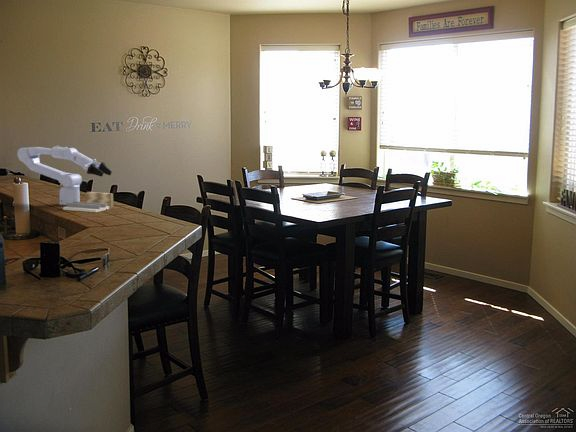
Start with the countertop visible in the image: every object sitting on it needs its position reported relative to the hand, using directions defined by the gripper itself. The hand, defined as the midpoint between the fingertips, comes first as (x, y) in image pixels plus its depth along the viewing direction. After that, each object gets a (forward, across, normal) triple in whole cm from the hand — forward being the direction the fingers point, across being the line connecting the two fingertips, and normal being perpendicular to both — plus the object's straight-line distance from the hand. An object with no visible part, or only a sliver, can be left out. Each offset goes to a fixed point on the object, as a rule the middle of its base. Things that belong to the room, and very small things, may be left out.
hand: (106, 174), depth 302 cm
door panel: (+3, 0, +17) cm, 17 cm away
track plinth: (+3, -12, +17) cm, 21 cm away
